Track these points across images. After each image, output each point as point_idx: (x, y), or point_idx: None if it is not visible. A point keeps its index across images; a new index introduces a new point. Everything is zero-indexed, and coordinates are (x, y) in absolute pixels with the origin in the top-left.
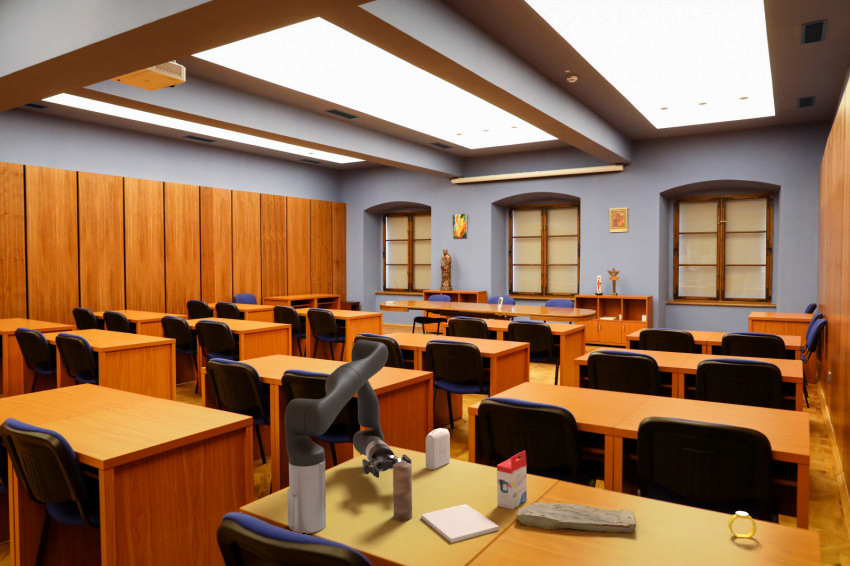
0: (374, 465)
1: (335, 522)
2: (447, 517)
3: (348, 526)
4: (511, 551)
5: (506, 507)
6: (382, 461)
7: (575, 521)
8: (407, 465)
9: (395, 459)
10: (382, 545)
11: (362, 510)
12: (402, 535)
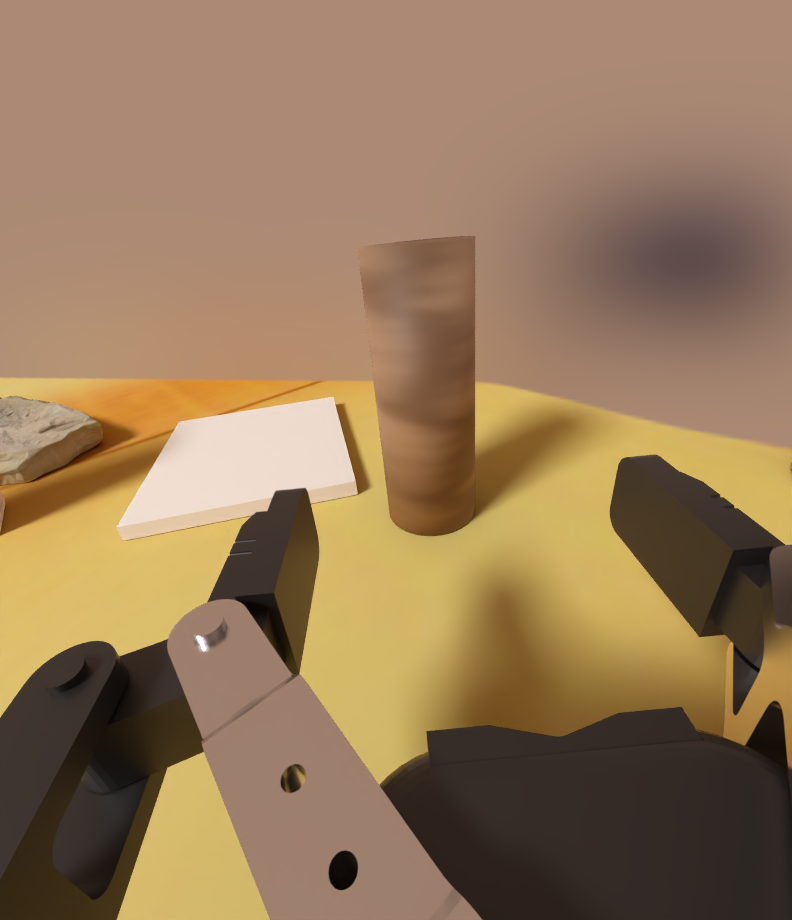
0: (780, 558)
1: (770, 505)
2: (274, 458)
3: None
4: (237, 389)
5: (2, 511)
6: (713, 792)
7: (25, 401)
8: (384, 244)
9: (337, 736)
10: (514, 406)
11: None
12: None
